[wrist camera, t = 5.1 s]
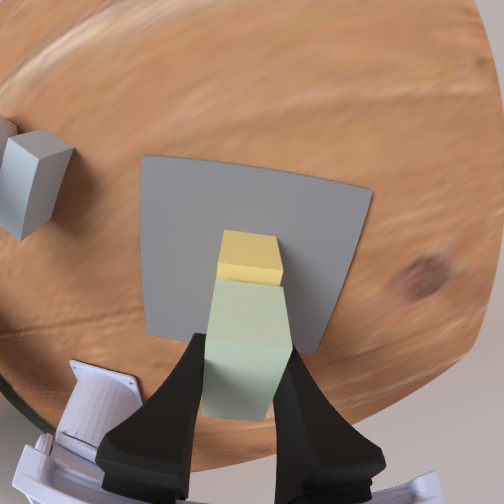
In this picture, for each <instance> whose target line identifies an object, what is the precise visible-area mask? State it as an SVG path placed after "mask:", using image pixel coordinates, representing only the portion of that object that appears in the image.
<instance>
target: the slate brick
mask: <svg viewBox="0 0 504 504" xmlns="http://www.w3.org/2000/svg"><path fill="white" fill-rule="evenodd" d="M74 148H75V147H73V146H72V145H70V144H68V143H67V142H65V141H64V140H62V139H60V138H59V137H57V136H56V135H54V134H53V133H51V132H49V131H48V130H46V129H41V130H37V131H32V132H28V133H24V134H20V135H16V136H12V137H9V138H8V141H7V145H6V148H5V152H4V156H3V161H2V165H1V170H0V225H1V226H2V227H3V228H5V229H6V230H7V231H8V232H9V233H10V234H12V235H13V236H14V237H15V238H16V239H18V240H19V241H20V242H21V241H22V240H23V239H25V238H26V237H27V236H28V235H30V234H31V233H32V232H34V231H35V230H36V229H38V228H39V227H40V226H42V225H43V224H44V223H46V222H47V221H49V220H50V219H51V216H52V212H53V209H54V205H55V202H56V198H57V195H58V192H59V189H60V186H61V183H62V180H63V177H64V174H65V171H66V168H67V166H68V163H69V160H70V158H71V155H72V153H73V150H74Z"/></svg>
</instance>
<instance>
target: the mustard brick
mask: <svg viewBox="0 0 504 504" xmlns="http://www.w3.org/2000/svg"><path fill="white" fill-rule="evenodd" d="M282 274H283V267H282V262H281V257H280V252H279V247H278V242H277V238H276V237H275V236H268V235H261V234H253V233H246V232H239V231H231V230H224V233H223V239H222V244H221V249H220V254H219V259H218V267H217V276H216V279H221V280H229V281H237V282H245V283H253V284H261V285H270V286H278V287H279V286H280V282H281V278H282Z"/></svg>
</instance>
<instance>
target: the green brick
mask: <svg viewBox="0 0 504 504" xmlns="http://www.w3.org/2000/svg"><path fill="white" fill-rule="evenodd" d="M292 349H293V348H292V341H291V335H290V328H289V322H288V316H287V310H286V304H285V298H284V292H283V287H278V286H270V285H261V284H253V283H245V282H237V281H229V280H221V279H216V281H215V287H214V293H213V298H212V304H211V310H210V316H209V322H208V329H207V335H206V342H205V357H204V374H203V394H202V416H207V417H216V418H225V419H236V420H250V421H263V420H264V418H265V416H266V414H267V411H268V409H269V407H270V404H271V402H272V400H273V397H274V395H275V392H276V390H277V388H278V385H279V383H280V380H281V378H282V375H283V373H284V370H285V368H286V365H287V362H288V360H289V357H290V355H291V352H292Z"/></svg>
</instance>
